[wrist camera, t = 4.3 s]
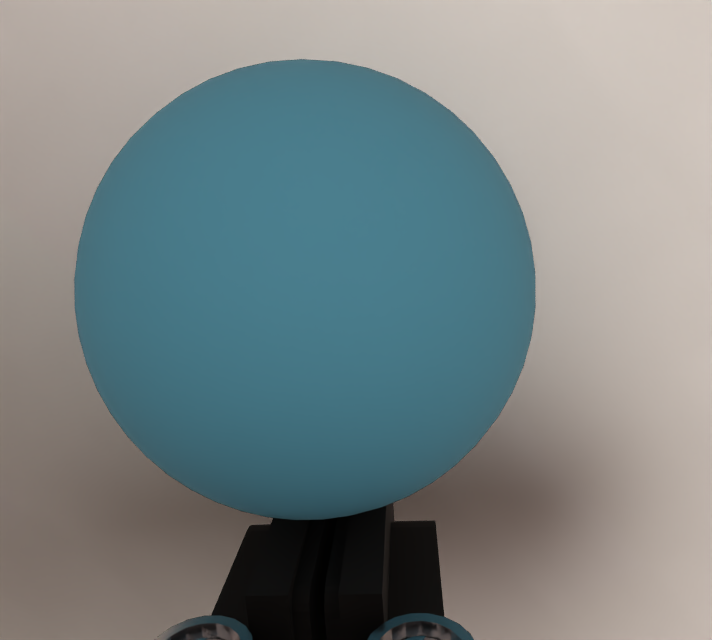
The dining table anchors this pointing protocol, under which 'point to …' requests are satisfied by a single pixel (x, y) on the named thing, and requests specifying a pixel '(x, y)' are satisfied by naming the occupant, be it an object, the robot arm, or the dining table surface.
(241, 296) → the ball
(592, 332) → the dining table surface
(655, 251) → the dining table surface
